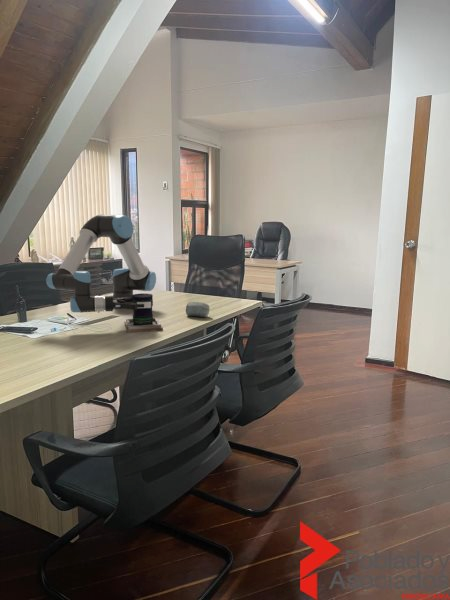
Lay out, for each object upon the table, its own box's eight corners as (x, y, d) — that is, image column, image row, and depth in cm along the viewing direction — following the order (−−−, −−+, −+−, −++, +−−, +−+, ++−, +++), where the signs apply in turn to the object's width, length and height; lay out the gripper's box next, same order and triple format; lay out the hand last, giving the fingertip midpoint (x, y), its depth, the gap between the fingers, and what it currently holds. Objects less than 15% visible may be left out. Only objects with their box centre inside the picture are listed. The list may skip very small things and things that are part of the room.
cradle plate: (124, 323, 218) (124, 318, 218) (157, 322, 223) (157, 317, 223) (127, 332, 202) (126, 326, 202) (162, 330, 207) (162, 325, 207)
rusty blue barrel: (155, 326, 210) (154, 296, 207) (134, 327, 206) (134, 297, 203) (150, 321, 219) (150, 293, 216) (131, 323, 215) (130, 293, 212)
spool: (180, 311, 236) (188, 295, 237) (186, 315, 244) (194, 300, 246) (201, 320, 230) (208, 303, 232) (206, 324, 239) (214, 308, 241)
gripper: (104, 306, 217) (146, 304, 224) (105, 317, 194) (152, 315, 200) (103, 291, 216) (146, 290, 222) (105, 300, 193) (152, 299, 199)
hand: (149, 302), depth 211 cm, fingers open, 13 cm apart
